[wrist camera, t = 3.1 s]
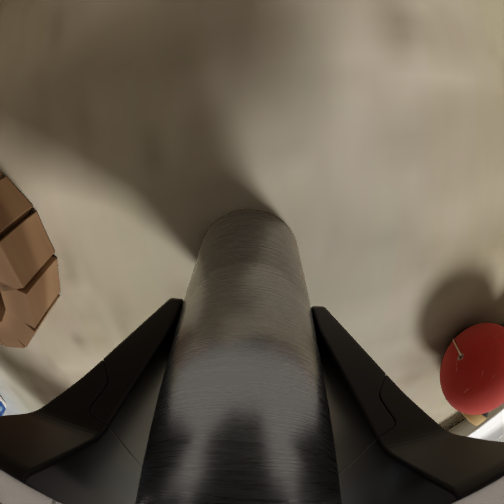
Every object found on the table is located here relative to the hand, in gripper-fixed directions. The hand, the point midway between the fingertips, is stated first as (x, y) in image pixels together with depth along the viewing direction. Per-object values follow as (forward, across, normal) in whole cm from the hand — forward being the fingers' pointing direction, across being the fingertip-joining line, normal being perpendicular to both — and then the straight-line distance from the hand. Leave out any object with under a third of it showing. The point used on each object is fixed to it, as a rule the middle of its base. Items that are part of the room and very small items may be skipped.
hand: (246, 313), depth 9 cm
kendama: (+4, -20, +9) cm, 22 cm away
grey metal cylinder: (+4, 0, 0) cm, 4 cm away
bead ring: (+4, +15, +1) cm, 15 cm away
